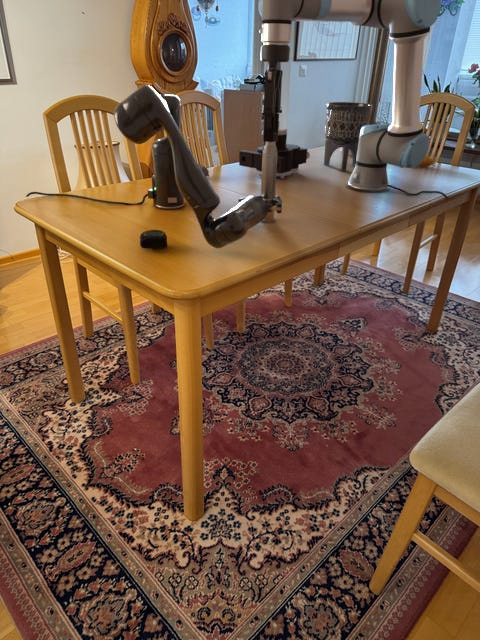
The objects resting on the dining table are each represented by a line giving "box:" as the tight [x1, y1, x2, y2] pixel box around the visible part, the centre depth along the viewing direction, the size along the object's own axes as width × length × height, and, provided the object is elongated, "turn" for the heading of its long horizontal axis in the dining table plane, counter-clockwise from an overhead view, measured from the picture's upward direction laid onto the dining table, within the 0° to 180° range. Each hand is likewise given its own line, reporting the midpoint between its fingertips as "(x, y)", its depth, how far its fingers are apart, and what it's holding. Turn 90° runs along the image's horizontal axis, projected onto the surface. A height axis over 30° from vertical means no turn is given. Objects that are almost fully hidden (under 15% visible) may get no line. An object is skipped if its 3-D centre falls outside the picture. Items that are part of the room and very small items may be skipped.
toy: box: [417, 154, 435, 169], centre depth 214 cm, size 11×6×15 cm
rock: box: [197, 163, 210, 178], centre depth 182 cm, size 13×9×6 cm, turn 131°
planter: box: [323, 101, 374, 172], centre depth 204 cm, size 20×20×26 cm
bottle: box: [260, 142, 277, 223], centre depth 134 cm, size 4×4×25 cm
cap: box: [262, 132, 278, 142], centre depth 128 cm, size 4×4×2 cm
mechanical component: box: [238, 121, 311, 179], centre depth 191 cm, size 22×21×30 cm
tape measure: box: [139, 229, 168, 250], centre depth 117 cm, size 7×7×4 cm
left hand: (270, 197), depth 139 cm, fingers closed on bottle, 4 cm apart
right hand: (270, 139), depth 128 cm, fingers open, 6 cm apart
